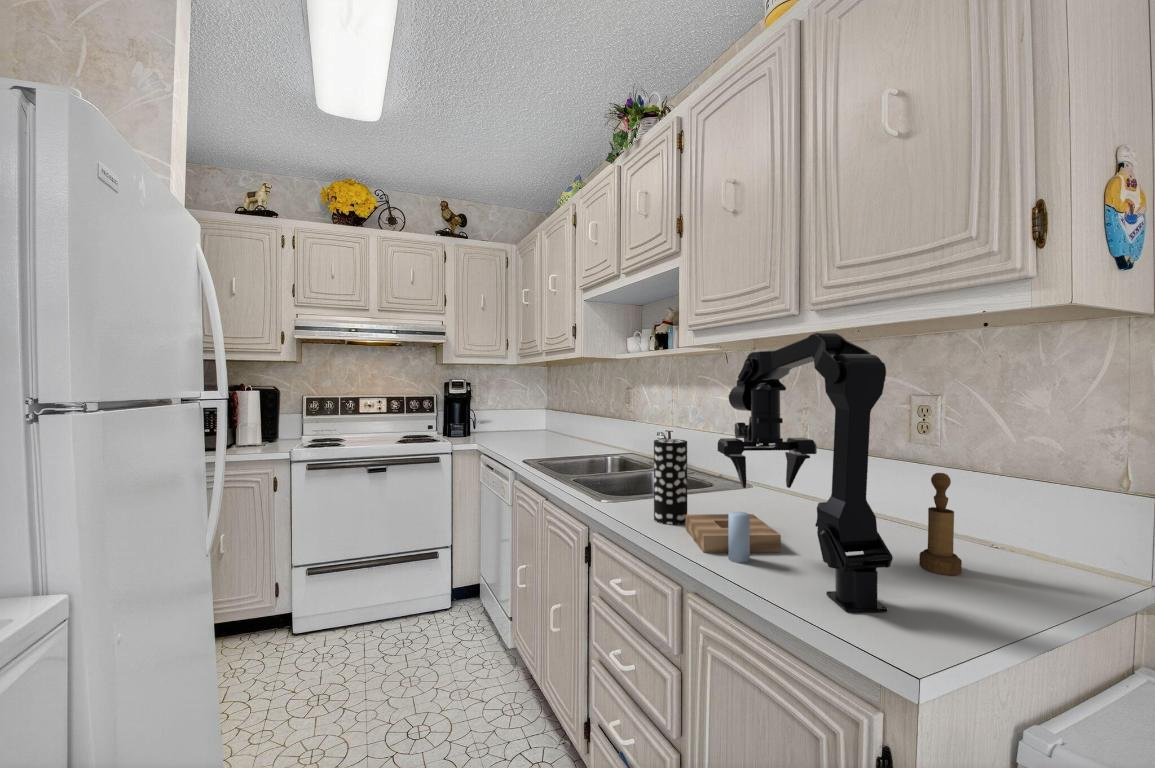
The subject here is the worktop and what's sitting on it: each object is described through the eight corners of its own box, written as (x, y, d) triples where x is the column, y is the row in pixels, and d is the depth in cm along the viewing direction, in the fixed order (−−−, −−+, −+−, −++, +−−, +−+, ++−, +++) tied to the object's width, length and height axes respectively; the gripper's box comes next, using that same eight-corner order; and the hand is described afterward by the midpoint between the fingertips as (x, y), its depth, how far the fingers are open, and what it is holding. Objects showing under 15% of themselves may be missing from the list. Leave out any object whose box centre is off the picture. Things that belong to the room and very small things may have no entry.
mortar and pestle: (969, 576, 92) (970, 477, 92) (929, 574, 93) (929, 476, 93) (950, 563, 98) (951, 470, 98) (913, 561, 100) (913, 469, 99)
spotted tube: (652, 523, 126) (652, 442, 126) (655, 514, 134) (655, 438, 134) (686, 525, 124) (686, 443, 124) (687, 516, 132) (687, 439, 132)
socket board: (780, 551, 105) (780, 534, 105) (703, 552, 105) (703, 535, 105) (752, 528, 121) (752, 514, 121) (685, 529, 121) (685, 514, 121)
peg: (752, 562, 99) (752, 516, 99) (732, 563, 99) (732, 517, 99) (745, 555, 103) (745, 511, 103) (725, 555, 103) (725, 511, 103)
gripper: (794, 410, 114) (795, 480, 114) (710, 410, 114) (711, 480, 114) (817, 413, 103) (818, 490, 103) (724, 413, 103) (725, 491, 103)
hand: (766, 487), depth 106 cm, fingers open, 9 cm apart
